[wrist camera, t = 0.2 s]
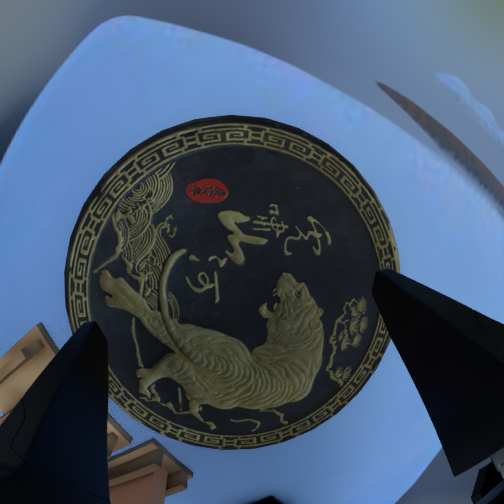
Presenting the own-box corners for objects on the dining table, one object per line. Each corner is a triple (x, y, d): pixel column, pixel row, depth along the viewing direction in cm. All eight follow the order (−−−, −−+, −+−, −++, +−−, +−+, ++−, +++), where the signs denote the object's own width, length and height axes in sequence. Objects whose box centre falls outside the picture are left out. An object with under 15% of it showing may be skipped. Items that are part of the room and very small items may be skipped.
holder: (192, 472, 22) (192, 492, 19) (118, 499, 21) (113, 516, 18) (153, 438, 22) (148, 457, 19) (82, 468, 21) (73, 484, 17)
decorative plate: (97, 100, 20) (414, 158, 24) (103, 109, 22) (403, 162, 26) (70, 423, 20) (363, 443, 24) (76, 414, 21) (356, 435, 26)
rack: (132, 438, 22) (122, 465, 17) (58, 469, 20) (46, 490, 16) (41, 322, 20) (15, 334, 16) (-16, 376, 19) (-37, 389, 14)
